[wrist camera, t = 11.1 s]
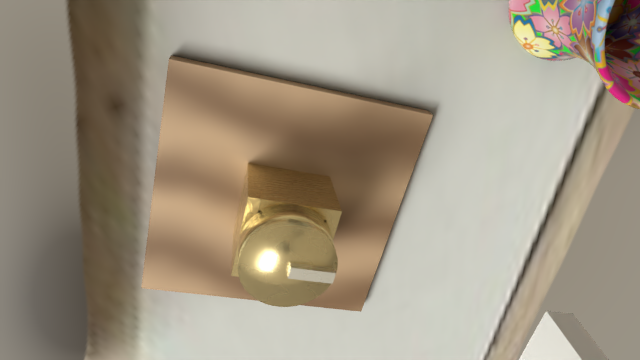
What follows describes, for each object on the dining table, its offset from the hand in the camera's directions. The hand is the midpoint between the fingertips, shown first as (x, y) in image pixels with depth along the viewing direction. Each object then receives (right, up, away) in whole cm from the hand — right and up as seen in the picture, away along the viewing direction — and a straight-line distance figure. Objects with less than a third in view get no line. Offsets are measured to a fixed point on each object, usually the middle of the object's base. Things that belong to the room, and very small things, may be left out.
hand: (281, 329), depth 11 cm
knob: (-2, +2, +24) cm, 24 cm away
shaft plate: (-2, +2, +25) cm, 25 cm away
